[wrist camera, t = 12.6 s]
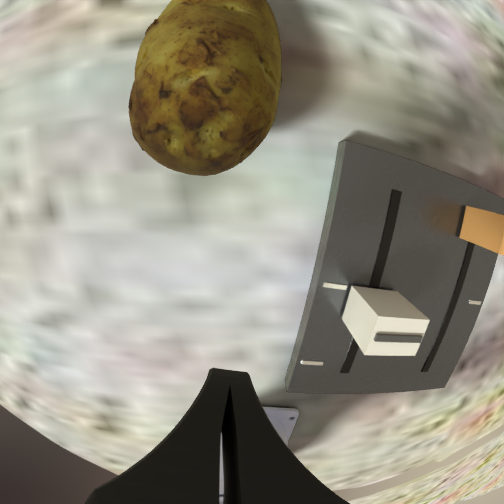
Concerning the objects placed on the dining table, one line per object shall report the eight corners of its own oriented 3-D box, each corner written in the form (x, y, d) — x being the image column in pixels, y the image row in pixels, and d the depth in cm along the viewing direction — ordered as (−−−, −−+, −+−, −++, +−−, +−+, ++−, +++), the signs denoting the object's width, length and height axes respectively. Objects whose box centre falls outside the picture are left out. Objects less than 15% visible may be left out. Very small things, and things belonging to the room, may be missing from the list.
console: (437, 379, 23) (444, 388, 22) (284, 379, 22) (287, 392, 21) (497, 199, 19) (509, 201, 17) (338, 142, 18) (346, 140, 16)
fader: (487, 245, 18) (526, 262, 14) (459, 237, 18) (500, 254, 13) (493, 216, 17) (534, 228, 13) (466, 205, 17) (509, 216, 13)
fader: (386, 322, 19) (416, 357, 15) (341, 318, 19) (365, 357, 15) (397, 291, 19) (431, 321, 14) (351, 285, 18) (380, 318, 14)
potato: (318, 27, 16) (355, -37, 8) (241, 190, 18) (239, 203, 11) (207, -11, 14) (193, -81, 7) (125, 144, 17) (57, 132, 10)
